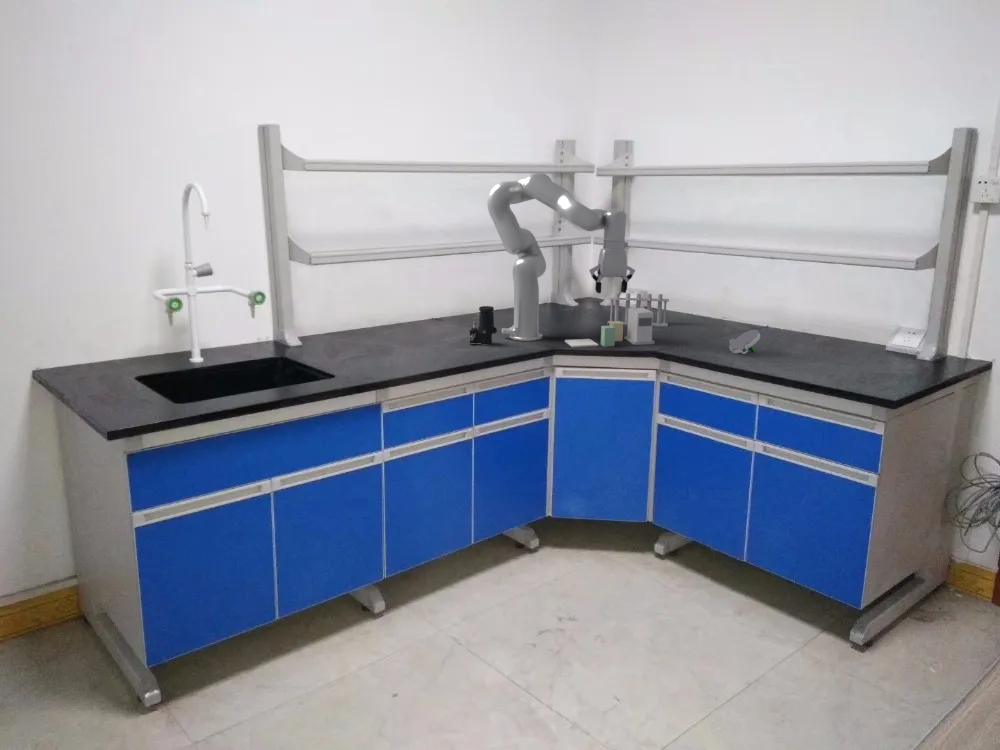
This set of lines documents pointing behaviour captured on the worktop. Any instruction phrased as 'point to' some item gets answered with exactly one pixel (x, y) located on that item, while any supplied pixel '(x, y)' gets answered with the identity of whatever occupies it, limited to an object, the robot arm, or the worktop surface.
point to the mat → (581, 343)
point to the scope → (483, 326)
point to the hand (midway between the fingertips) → (610, 292)
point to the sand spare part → (617, 329)
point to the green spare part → (607, 336)
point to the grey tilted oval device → (744, 342)
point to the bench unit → (639, 326)
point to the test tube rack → (639, 307)
